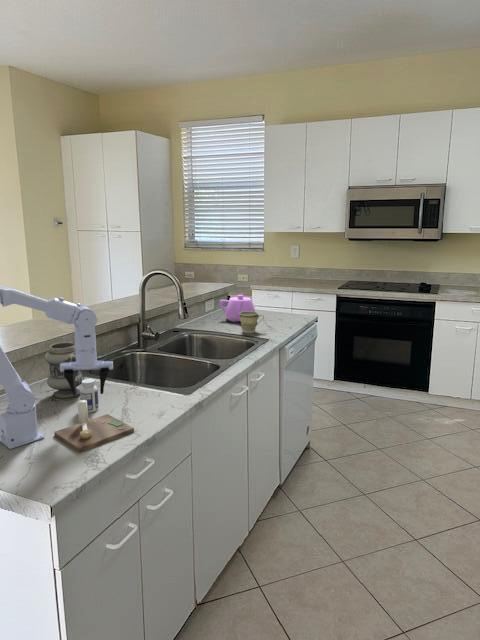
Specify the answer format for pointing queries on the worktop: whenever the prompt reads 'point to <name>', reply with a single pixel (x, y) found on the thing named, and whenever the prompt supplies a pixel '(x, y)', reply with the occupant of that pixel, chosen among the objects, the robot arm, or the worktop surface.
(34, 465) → the worktop surface
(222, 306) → the teapot
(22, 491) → the worktop surface
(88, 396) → the pill bottle
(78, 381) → the apothecary jar
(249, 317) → the ceramic cup
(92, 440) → the tuner board
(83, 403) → the peg lever
